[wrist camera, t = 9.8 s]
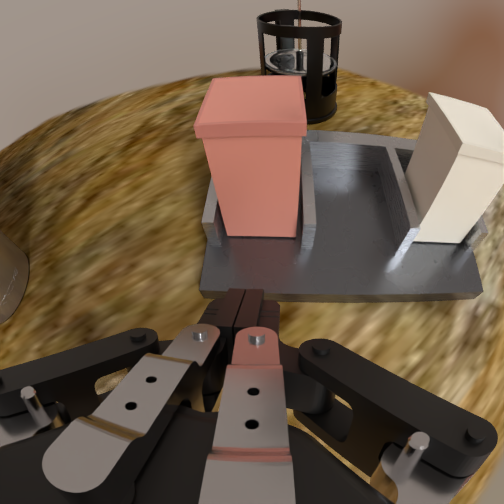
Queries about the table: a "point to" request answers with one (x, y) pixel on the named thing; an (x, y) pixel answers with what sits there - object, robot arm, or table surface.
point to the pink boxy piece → (255, 151)
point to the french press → (304, 56)
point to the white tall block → (454, 168)
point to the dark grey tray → (344, 234)
